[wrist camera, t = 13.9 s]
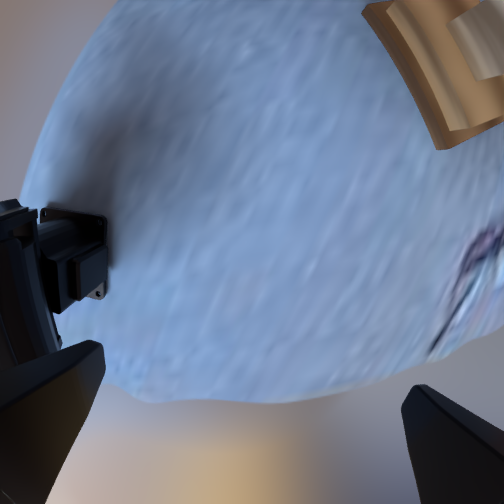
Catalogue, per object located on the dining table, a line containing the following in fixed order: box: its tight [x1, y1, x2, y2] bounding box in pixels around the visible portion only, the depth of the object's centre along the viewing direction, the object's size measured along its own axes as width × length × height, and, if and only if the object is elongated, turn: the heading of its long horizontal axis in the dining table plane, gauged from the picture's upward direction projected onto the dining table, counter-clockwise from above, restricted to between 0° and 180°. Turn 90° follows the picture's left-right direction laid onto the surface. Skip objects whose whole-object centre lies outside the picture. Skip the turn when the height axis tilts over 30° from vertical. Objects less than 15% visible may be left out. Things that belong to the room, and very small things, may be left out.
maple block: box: [386, 0, 504, 131], centre depth 12 cm, size 10×10×2 cm
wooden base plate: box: [361, 0, 504, 150], centre depth 15 cm, size 12×12×2 cm
